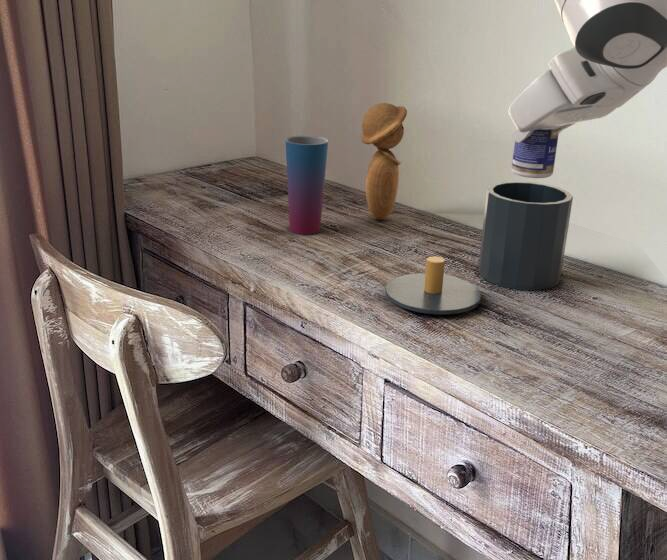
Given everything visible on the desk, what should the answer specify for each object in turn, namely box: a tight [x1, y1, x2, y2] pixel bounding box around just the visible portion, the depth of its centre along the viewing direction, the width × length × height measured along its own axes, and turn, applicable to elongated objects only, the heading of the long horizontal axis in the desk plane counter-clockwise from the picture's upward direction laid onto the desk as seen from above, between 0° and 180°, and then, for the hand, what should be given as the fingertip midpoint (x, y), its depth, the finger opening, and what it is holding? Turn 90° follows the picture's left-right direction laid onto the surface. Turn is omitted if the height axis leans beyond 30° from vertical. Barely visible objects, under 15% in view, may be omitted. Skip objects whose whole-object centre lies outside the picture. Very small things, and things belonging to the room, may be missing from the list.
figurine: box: [360, 102, 408, 220], centre depth 137 cm, size 9×7×20 cm
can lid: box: [384, 255, 482, 316], centre depth 108 cm, size 13×13×6 cm
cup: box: [284, 135, 329, 236], centre depth 132 cm, size 7×7×15 cm
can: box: [478, 180, 574, 291], centre depth 116 cm, size 12×12×12 cm
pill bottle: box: [510, 126, 560, 179], centre depth 111 cm, size 6×6×10 cm
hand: (533, 135), depth 112 cm, fingers closed on pill bottle, 6 cm apart
